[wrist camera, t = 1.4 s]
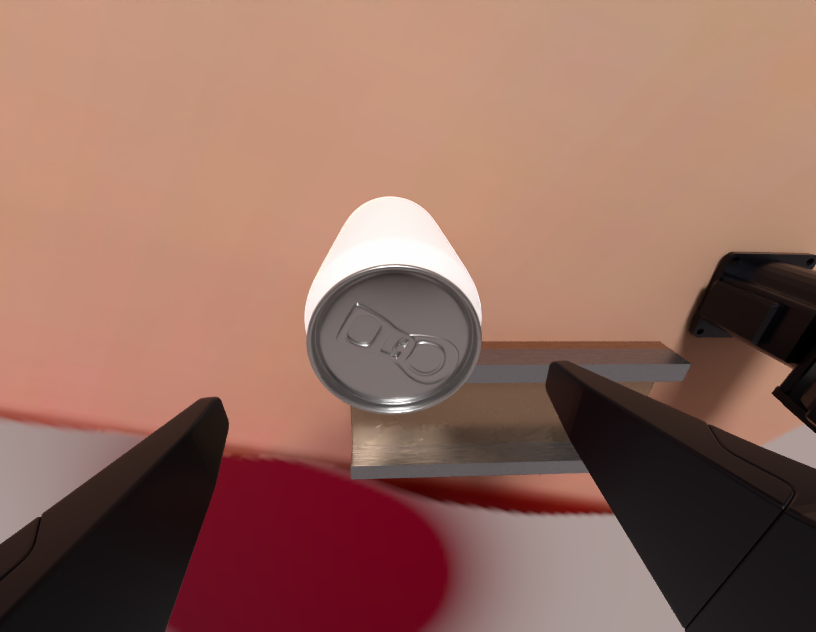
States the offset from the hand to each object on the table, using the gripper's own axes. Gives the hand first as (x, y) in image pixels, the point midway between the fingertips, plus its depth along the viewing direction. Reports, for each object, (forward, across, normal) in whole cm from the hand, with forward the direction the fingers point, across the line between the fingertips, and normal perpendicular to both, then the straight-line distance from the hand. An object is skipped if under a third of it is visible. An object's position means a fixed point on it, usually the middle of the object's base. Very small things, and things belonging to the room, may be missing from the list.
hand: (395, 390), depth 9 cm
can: (+14, -1, 0) cm, 14 cm away
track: (+13, -10, +13) cm, 21 cm away
